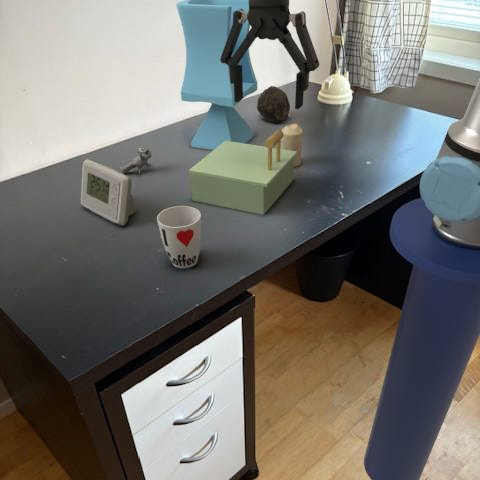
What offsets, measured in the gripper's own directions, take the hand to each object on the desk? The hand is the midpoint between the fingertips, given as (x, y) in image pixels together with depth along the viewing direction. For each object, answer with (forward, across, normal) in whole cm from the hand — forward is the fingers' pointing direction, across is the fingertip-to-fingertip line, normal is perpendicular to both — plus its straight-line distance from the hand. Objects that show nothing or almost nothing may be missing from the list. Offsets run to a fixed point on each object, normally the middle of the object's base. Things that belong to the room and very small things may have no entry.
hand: (268, 103), depth 99 cm
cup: (+22, +5, +31) cm, 38 cm away
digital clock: (+22, +31, +21) cm, 43 cm away
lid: (+14, +6, -1) cm, 16 cm away
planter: (+22, +26, -27) cm, 43 cm away
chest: (+21, +7, -1) cm, 22 cm away
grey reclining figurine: (+22, +37, 0) cm, 43 cm away
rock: (+22, +18, -50) cm, 58 cm away
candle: (+22, +2, -20) cm, 30 cm away
